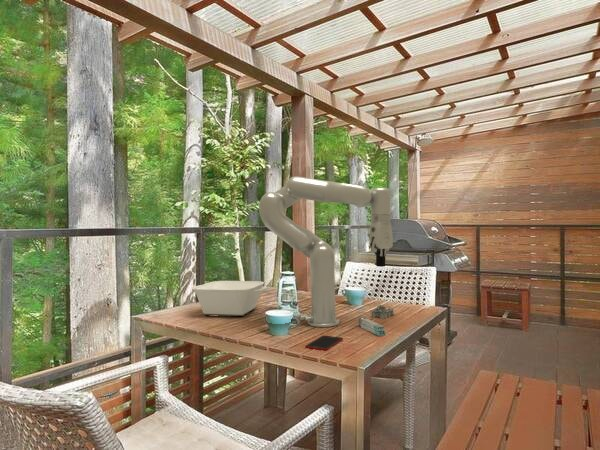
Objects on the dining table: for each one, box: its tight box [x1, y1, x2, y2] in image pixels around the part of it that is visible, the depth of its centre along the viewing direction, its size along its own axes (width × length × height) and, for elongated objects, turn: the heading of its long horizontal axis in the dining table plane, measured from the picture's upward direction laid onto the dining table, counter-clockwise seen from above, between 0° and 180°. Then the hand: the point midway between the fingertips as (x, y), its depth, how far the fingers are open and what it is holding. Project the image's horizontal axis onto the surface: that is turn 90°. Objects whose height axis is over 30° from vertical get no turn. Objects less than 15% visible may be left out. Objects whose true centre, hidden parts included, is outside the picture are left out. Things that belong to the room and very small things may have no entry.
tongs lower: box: [358, 316, 386, 337], centre depth 155 cm, size 16×3×3 cm, turn 19°
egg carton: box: [370, 303, 395, 320], centre depth 179 cm, size 11×8×4 cm
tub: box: [192, 280, 268, 317], centre depth 191 cm, size 34×27×13 cm
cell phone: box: [304, 335, 344, 352], centre depth 139 cm, size 8×15×1 cm, turn 152°
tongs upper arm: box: [362, 318, 385, 331], centre depth 153 cm, size 13×3×2 cm, turn 17°
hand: (380, 266), depth 165 cm, fingers closed
